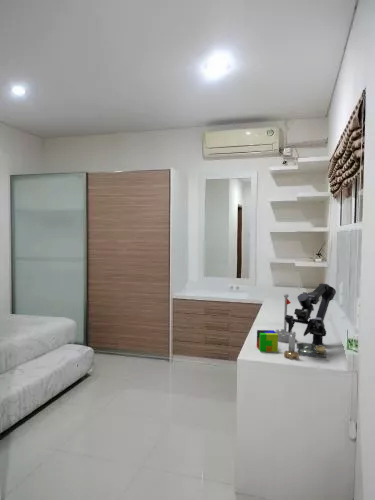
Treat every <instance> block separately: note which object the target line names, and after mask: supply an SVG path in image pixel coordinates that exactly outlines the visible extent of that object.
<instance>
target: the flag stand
mask: <svg viewBox="0 0 375 500" xmlns="http://www.w3.org/2000/svg"><path fill="white" fill-rule="evenodd" d="M283 297H284V314H283V315H284V316H283V317H284V319H283V324H284V326H283V328H281V329H275V330H274V331H275V332H276V333H277V334H278V342H281V343H289V335H295V337H296V335H297V334H296V331H294V330H293V329H292V330H291V332H290V333H289V332H288V330H287V326H288V323H287V322H286V320H285V316H286V315H288V305H289V304H291V303H292V302H291V301H290V300H289V298H288V297H289V294H288V293H284V294H283Z"/></svg>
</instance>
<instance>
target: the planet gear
mask: <svg viewBox="0 0 375 500" xmlns="http://www.w3.org/2000/svg"><path fill="white" fill-rule="evenodd" d="M295 345H296V336H295V335H289V342H288V350H285V351H284V353H283V354H284V355H283V357H284V358H286V359H289V360H298V359H299V356H300V355H299V353H298V351H295V347H296V346H295Z"/></svg>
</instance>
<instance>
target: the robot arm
mask: <svg viewBox="0 0 375 500" xmlns="http://www.w3.org/2000/svg"><path fill="white" fill-rule="evenodd" d="M335 296H336V289H335V288H334V287H332V286H331V285H329V284H328V283H319V285H318V286H317V287H316V288H315V289H314V290H312V291H311V292H305V291H303V292H302V293H300V294H299V295H298V296H297V300H298V303H299V304H300V306H301V308H295V309H294V313H293V315H295V317H296V318H294V316H293V315H290V314H287V315H286V316H285V320H286V322H287V326H288V327H287V328H288V329H287V331H288V332H289V333H290V332H291V330H292V331H293V328H294V326H295V323H297V324H303V325H306V328H305V330H304V333H303V337H306V336H307V335H312V341H311V344H314V345H322V346H324V342H323V338H324V337H326V336H327V330H326V328H325V323H324V322H325V321H324V320H325V317H326V314H327V310H328V307H329V306H330V305H329V304H330V302H331V301H332V300H334V298H335ZM320 297H321V300H320ZM319 301H320V304H319V307H318V310H317V312H316V316H315V318H311V314H312V312H314V310H315V308H314V306H313V305H317V304H318V303H319Z"/></svg>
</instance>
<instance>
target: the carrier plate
mask: <svg viewBox="0 0 375 500" xmlns="http://www.w3.org/2000/svg"><path fill="white" fill-rule="evenodd" d="M296 349H297V352H298V353H299V356H304V357H305V356H307V357H312V358H321V359H326V357H327V350H326V347H325V345H323V346H322V345H314V344H312V343H310V342H309V343H308V342H297V343H296Z"/></svg>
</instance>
